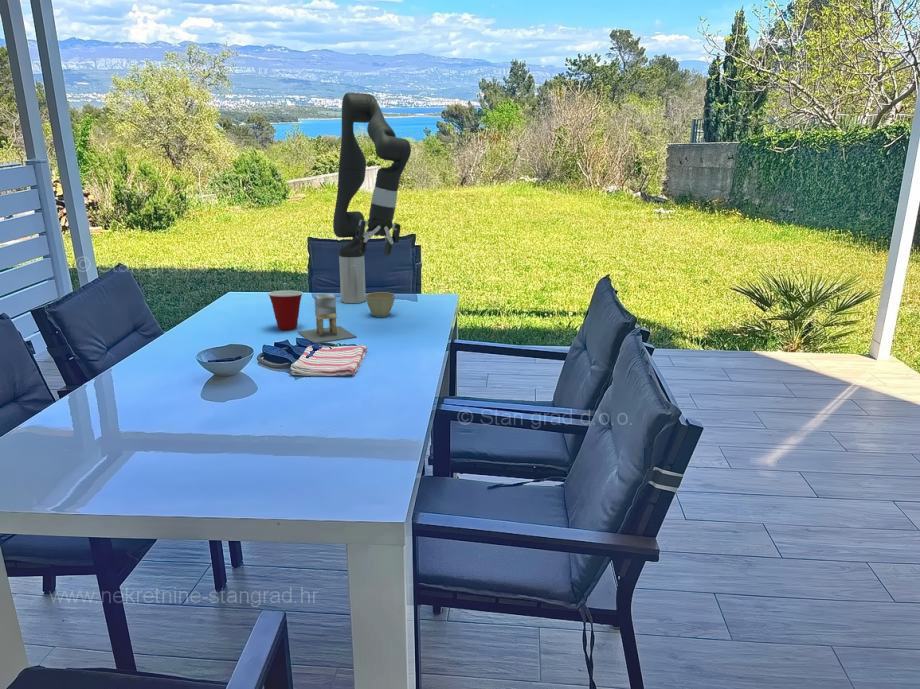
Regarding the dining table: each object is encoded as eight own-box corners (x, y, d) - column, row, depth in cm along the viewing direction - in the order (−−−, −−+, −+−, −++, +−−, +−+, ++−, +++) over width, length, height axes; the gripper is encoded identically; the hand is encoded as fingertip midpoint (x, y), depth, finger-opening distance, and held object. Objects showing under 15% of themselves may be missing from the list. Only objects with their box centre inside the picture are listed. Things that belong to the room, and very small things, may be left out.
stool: (334, 330, 211) (332, 293, 208) (337, 335, 206) (335, 297, 203) (316, 332, 209) (314, 294, 206) (319, 337, 204) (317, 298, 201)
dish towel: (288, 378, 171) (287, 365, 170) (309, 351, 193) (309, 339, 192) (354, 379, 171) (354, 366, 170) (368, 352, 193) (368, 340, 192)
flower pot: (362, 313, 235) (361, 293, 233) (389, 310, 239) (389, 291, 237) (371, 320, 226) (370, 299, 224) (399, 317, 230) (398, 296, 228)
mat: (297, 332, 210) (297, 331, 210) (339, 327, 217) (339, 325, 217) (312, 343, 199) (312, 342, 198) (356, 337, 205) (356, 336, 205)
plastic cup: (309, 324, 220) (307, 288, 216) (298, 333, 210) (296, 295, 206) (277, 323, 221) (275, 287, 217) (265, 331, 211) (262, 294, 207)
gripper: (397, 202, 213) (388, 252, 218) (357, 198, 205) (348, 249, 210) (409, 208, 207) (399, 258, 213) (368, 203, 199) (359, 256, 204)
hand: (374, 254), depth 211 cm, fingers open, 8 cm apart
